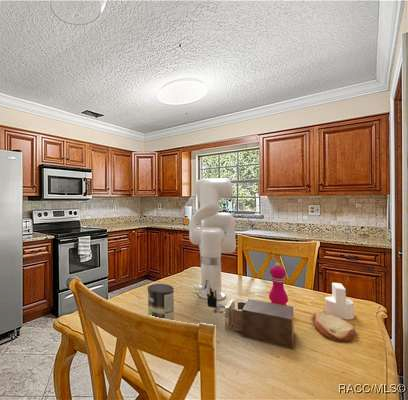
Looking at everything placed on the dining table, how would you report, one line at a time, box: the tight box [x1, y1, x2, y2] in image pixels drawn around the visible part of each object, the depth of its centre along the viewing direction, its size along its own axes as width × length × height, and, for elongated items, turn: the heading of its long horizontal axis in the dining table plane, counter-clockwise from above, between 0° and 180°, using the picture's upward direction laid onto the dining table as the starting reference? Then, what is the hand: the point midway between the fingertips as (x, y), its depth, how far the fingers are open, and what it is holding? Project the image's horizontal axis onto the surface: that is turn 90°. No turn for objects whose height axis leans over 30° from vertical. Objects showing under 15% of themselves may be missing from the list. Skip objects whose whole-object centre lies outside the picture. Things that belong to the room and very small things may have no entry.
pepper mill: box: [268, 262, 289, 306], centre depth 121 cm, size 7×7×20 cm
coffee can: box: [147, 283, 175, 321], centre depth 109 cm, size 10×10×14 cm
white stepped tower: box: [324, 282, 355, 320], centre depth 113 cm, size 9×9×12 cm
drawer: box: [213, 298, 247, 332], centre depth 103 cm, size 18×11×8 cm, turn 54°
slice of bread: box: [313, 310, 357, 343], centre depth 101 cm, size 18×18×4 cm
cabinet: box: [242, 298, 295, 350], centre depth 97 cm, size 15×13×10 cm
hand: (212, 306), depth 109 cm, fingers closed
